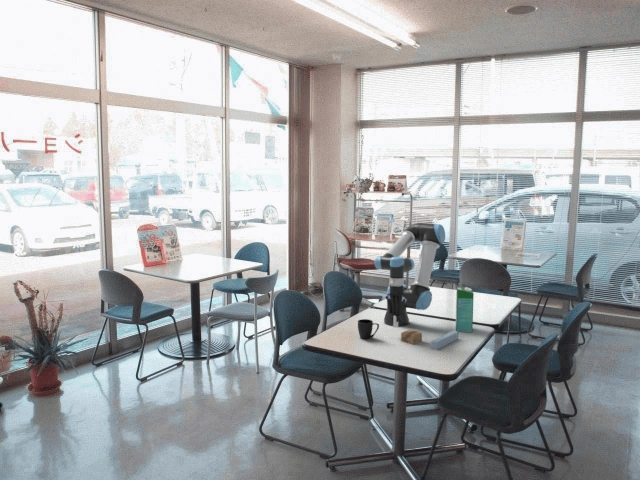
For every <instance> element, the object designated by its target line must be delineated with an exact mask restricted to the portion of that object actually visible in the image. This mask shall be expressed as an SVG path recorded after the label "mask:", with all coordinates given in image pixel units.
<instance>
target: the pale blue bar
mask: <svg viewBox="0 0 640 480" xmlns="http://www.w3.org/2000/svg"><path fill="white" fill-rule="evenodd" d="M458 339H459V331H456V330H451V331H450V332H447V333H446V334H443V335H442V336H438V337H437V338H436V339H433V340H431V348H430V349H432V350H435V351H437V350H439V349H441V348H443V347H445V346H447V345H449V344H450V343H451V344H452V342H455V341H456V340H458Z"/></svg>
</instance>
